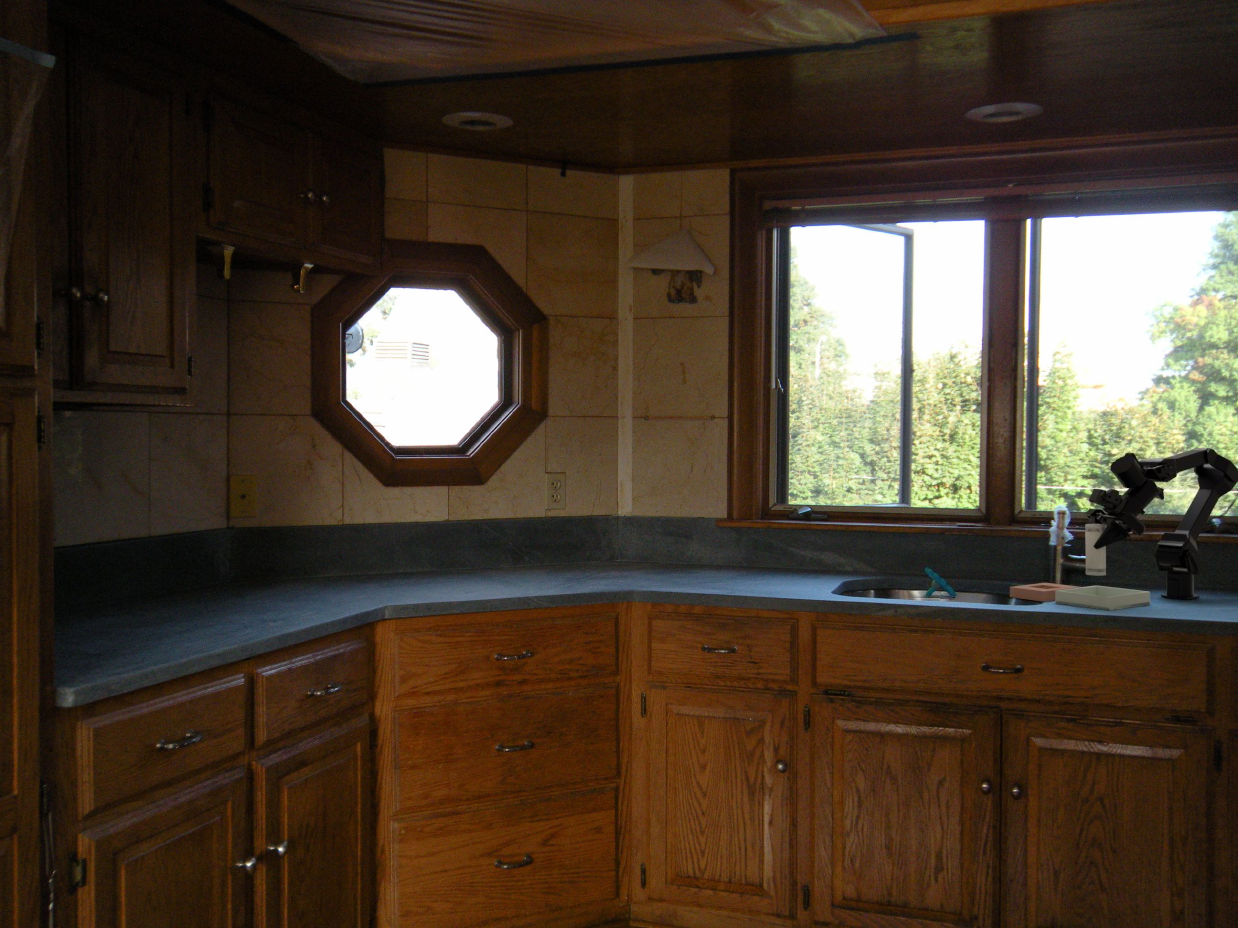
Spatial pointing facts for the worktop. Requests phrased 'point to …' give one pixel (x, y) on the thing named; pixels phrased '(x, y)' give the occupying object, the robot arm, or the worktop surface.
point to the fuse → (1095, 550)
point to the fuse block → (1038, 591)
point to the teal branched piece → (938, 584)
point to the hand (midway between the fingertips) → (1090, 547)
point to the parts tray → (1102, 597)
